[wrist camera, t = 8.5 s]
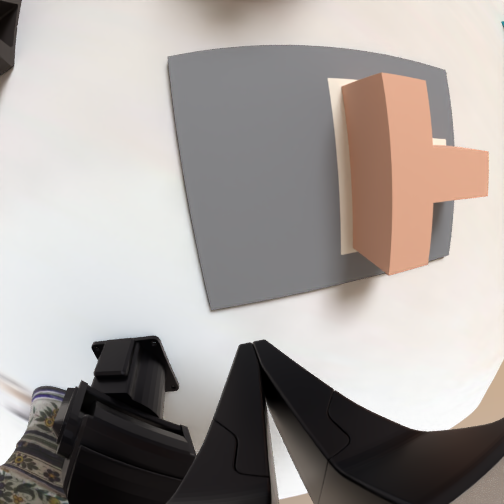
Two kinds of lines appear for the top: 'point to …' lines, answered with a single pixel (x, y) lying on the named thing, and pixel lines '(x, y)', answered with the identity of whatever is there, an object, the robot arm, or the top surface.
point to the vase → (36, 456)
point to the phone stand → (8, 32)
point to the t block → (401, 170)
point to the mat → (281, 165)
